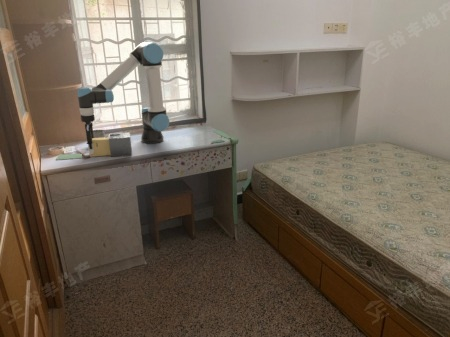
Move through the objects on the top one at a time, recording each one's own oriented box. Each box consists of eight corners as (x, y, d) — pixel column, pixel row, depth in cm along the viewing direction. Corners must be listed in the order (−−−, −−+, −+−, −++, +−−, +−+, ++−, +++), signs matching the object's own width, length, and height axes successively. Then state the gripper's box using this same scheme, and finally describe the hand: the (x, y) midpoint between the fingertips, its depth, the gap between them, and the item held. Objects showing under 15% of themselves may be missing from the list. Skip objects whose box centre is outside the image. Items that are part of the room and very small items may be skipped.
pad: (83, 153, 219) (83, 153, 219) (81, 158, 211) (81, 157, 211) (58, 155, 216) (58, 154, 216) (55, 160, 208) (55, 159, 207)
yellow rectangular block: (112, 152, 221) (110, 137, 217) (112, 155, 216) (110, 139, 213) (90, 154, 218) (88, 138, 214) (89, 156, 213) (87, 140, 210)
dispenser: (131, 149, 227) (130, 132, 223) (131, 155, 216) (129, 137, 212) (111, 151, 224) (109, 133, 220) (110, 157, 213) (107, 138, 209)
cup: (91, 148, 230) (89, 133, 227) (93, 144, 238) (91, 129, 234) (105, 147, 232) (103, 132, 228) (106, 143, 239) (104, 129, 236)
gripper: (82, 111, 215) (87, 148, 223) (78, 118, 198) (83, 157, 206) (95, 111, 216) (99, 147, 224) (92, 117, 200) (97, 156, 208)
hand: (92, 152), depth 215 cm, fingers closed on yellow rectangular block, 5 cm apart
